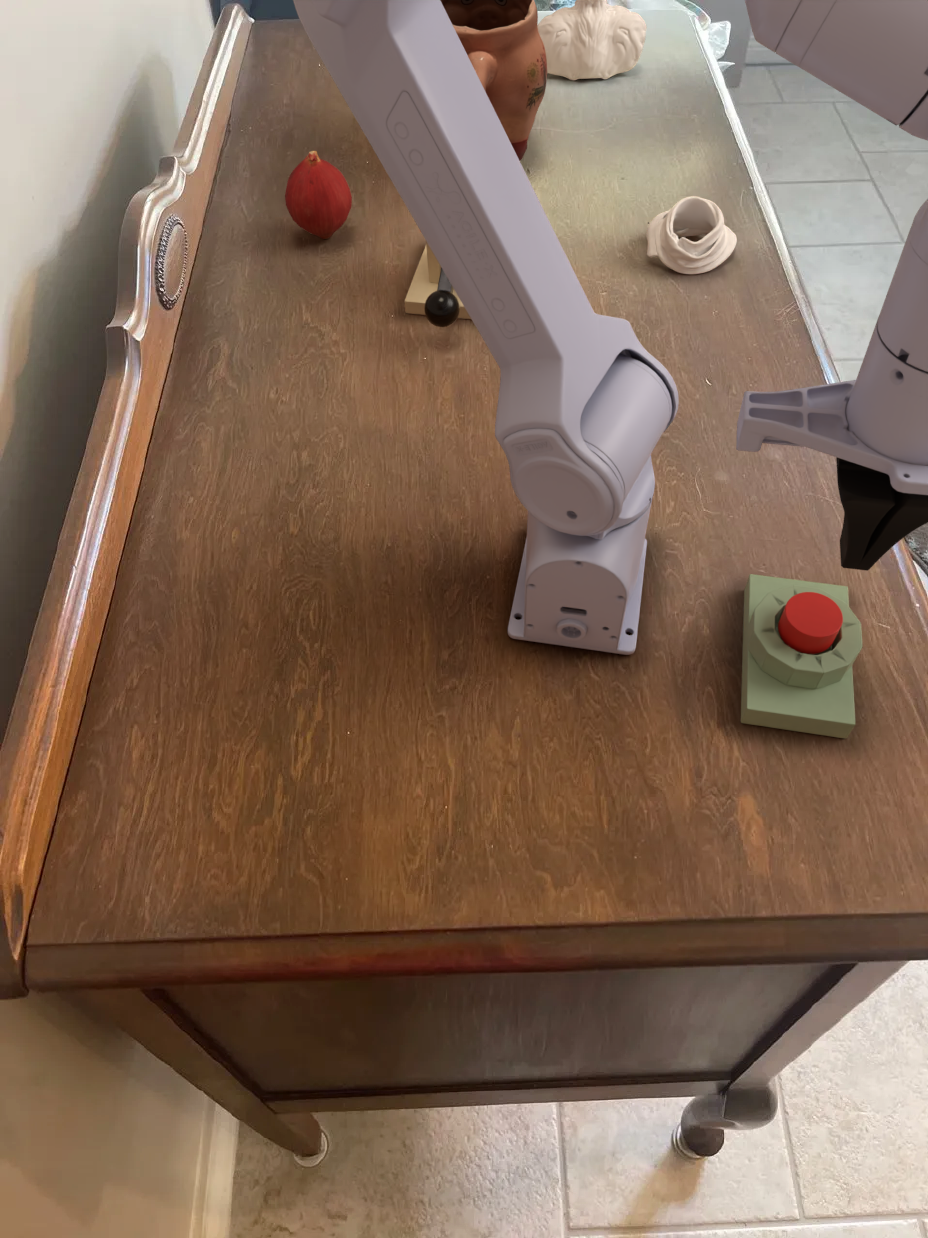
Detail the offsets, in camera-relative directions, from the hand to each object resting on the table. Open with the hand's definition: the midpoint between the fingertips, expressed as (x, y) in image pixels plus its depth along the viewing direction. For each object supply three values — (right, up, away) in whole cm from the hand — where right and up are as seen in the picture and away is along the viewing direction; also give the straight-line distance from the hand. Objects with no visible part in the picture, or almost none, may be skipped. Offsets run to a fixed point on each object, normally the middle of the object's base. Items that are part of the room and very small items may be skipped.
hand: (854, 554), depth 48 cm
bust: (-6, +58, +55) cm, 80 cm away
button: (0, -4, +6) cm, 7 cm away
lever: (-21, +25, +27) cm, 43 cm away
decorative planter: (-18, +42, +44) cm, 64 cm away
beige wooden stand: (-20, +26, +32) cm, 46 cm away
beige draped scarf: (0, +29, +34) cm, 44 cm away
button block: (0, -6, +9) cm, 10 cm away
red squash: (-33, +32, +37) cm, 59 cm away
